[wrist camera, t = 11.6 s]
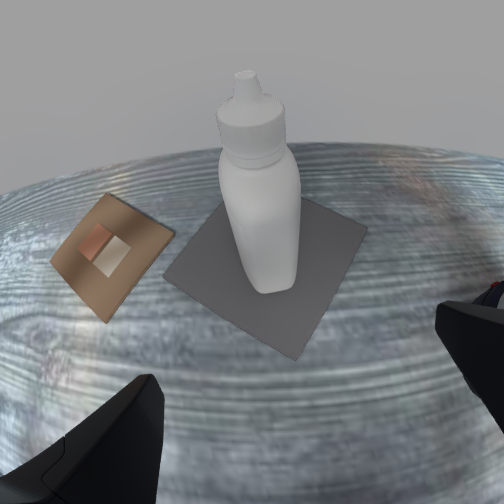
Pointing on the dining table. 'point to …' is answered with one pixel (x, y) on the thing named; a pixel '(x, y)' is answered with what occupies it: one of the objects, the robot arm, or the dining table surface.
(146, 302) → the dining table surface
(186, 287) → the mat
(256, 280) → the eye dropper bottle
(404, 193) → the dining table surface
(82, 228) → the board
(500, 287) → the humidifier
